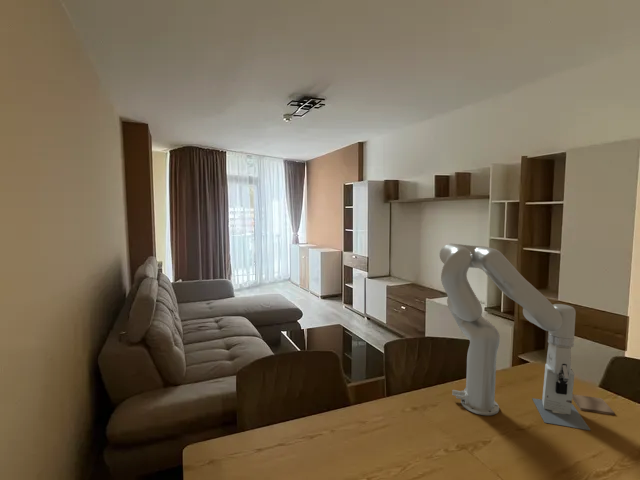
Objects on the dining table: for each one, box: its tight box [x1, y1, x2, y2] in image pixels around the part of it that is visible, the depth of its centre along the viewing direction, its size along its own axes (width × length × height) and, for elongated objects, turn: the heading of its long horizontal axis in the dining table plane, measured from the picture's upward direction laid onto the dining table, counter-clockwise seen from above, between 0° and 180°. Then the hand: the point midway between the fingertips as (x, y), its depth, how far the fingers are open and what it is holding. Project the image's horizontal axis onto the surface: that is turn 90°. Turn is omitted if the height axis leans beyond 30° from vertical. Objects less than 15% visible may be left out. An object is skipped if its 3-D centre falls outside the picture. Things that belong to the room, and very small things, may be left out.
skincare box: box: [541, 363, 575, 415], centre depth 125 cm, size 8×6×15 cm
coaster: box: [572, 393, 616, 416], centre depth 128 cm, size 10×10×1 cm
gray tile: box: [532, 397, 592, 431], centre depth 122 cm, size 13×16×1 cm
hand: (557, 388), depth 125 cm, fingers closed on skincare box, 6 cm apart
